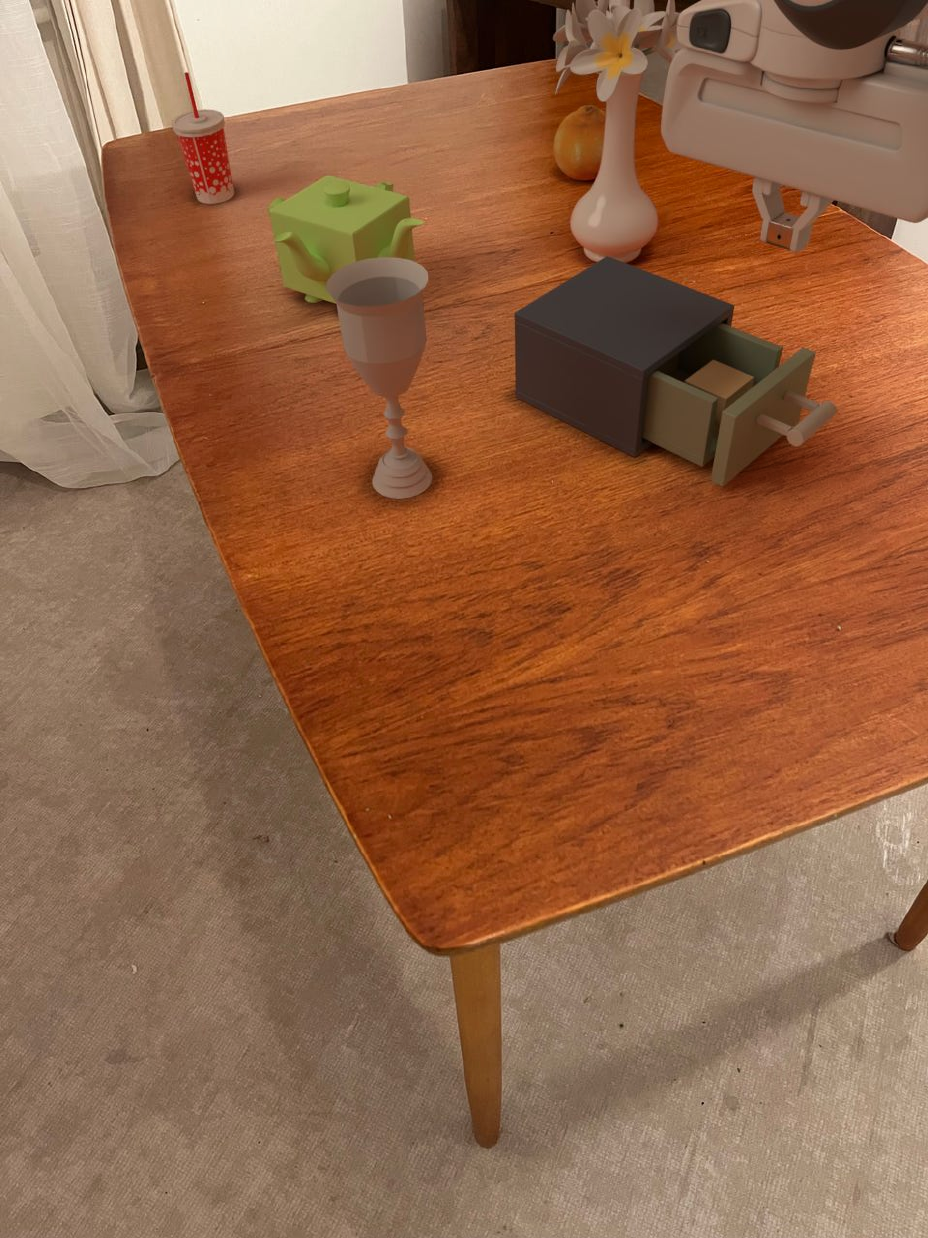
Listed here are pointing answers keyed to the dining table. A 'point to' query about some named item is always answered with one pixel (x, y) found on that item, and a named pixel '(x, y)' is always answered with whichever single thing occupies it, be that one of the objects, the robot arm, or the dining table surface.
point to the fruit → (580, 143)
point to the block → (721, 386)
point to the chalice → (386, 352)
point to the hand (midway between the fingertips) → (783, 244)
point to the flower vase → (616, 116)
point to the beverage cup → (205, 151)
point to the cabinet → (606, 346)
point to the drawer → (747, 424)
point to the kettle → (338, 231)
